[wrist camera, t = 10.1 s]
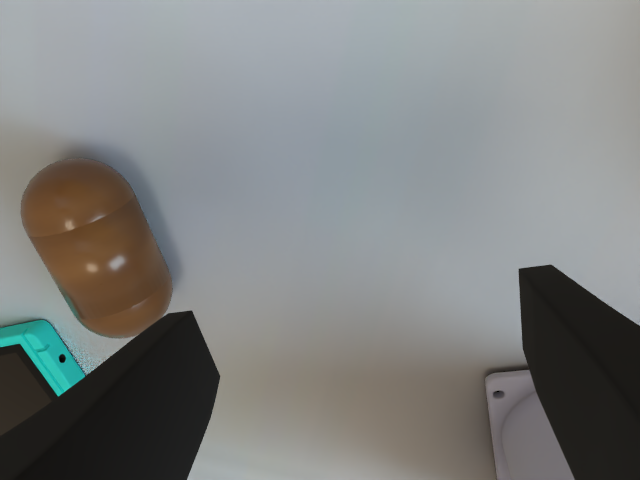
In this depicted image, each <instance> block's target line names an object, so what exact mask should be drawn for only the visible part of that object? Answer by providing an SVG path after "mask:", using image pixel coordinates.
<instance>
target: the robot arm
mask: <svg viewBox="0 0 640 480" xmlns="http://www.w3.org/2000/svg"><path fill="white" fill-rule="evenodd" d="M519 286H520V305H521V323H522V342H523V350H524V354H525V357H526V360H527V364H528V367H529V370H521V371H510V372H500V373H493V374H490V375H488V376H487V377H486V379H485V387H486V395H487V403H488V411H489V419H490V427H491V435H492V443H493V451H494V459H495V467H496V475H497V480H640V326H639V325H637V324H636V323H634V322H633V321H631V320H630V319H628V318H627V317H625V316H624V315H622V314H621V313H619V312H618V311H616V310H615V309H613V308H612V307H610V306H609V305H607V304H606V303H604V302H603V301H601V300H600V299H598V298H597V297H596V296H594V295H593V294H591V293H590V292H589V291H587V290H586V289H584V288H583V287H582V286H580V285H579V284H577V283H576V282H575V281H573V280H572V279H571V278H569V277H568V276H566V275H565V274H564V273H562V272H561V271H559V270H558V269H557V268H555V267H554V266H552V265H545V266H537V267H529V268H521V269H519ZM219 380H220V375H219V372H218V370H217V368H216V366H215V363H214V361H213V359H212V356H211V354H210V352H209V349H208V347H207V345H206V342H205V340H204V338H203V335H202V333H201V331H200V328H199V326H198V324H197V321H196V319H195V317H194V314H193V312H192V311H184V312H177V313H169V314H167V315H165V316H164V317H162V318H161V319H159V320H158V321H156V322H155V323H154V324H152V325H151V326H149V327H148V328H147V329H145V330H144V331H143V332H141V333H140V334H139V335H138V336H136V337H135V338H134V339H132V340H131V341H130V342H129V343H127V344H126V345H125V346H124V347H122V348H121V349H120V350H119V351H117V352H116V353H115V354H113V355H112V356H111V357H110V358H108V359H107V360H106V361H105V362H103V363H102V364H101V365H100V366H98V367H97V368H96V369H94V370H93V371H92V372H91V373H89V374H88V375H87V376H85V377H84V378H83V379H81V380H80V381H79V382H77V383H76V384H75V385H73V386H72V387H70V388H69V389H68V390H66V391H65V392H64V393H62V394H61V395H60V396H58V397H57V398H56V399H54V400H53V401H52V402H50V403H49V404H48V405H46V406H45V407H43V408H42V409H41V410H39V411H38V412H36V413H35V414H33V415H32V416H30V417H29V418H27V419H26V420H24V421H23V422H21V423H20V424H18V425H17V426H15V427H14V428H12V429H11V430H9V431H8V432H6V433H4V434H3V435H1V436H0V480H187V478H188V475H189V473H190V470H191V468H192V465H193V462H194V460H195V457H196V455H197V452H198V450H199V447H200V444H201V442H202V439H203V437H204V434H205V431H206V429H207V426H208V423H209V420H210V418H211V414H212V410H213V406H214V402H215V398H216V394H217V389H218V384H219ZM498 390H499V391H501V392H495V391H498Z"/></svg>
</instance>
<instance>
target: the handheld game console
mask: <svg viewBox="0 0 640 480" xmlns="http://www.w3.org/2000/svg"><path fill="white" fill-rule="evenodd" d="M84 377H85V375H84V373H83V372H82V370H81V369H80V367H79V366H78V364H77V363H76V361H75V360H74V358H73V357H72V355H71V354H70V352H69V351H68V349H67V348H66V346H65V345H64V343H63V342H62V340H61V339H60V338H59V336H58V335H57V333H56V332H55V330H54V329H53V327H52V326H51V325H50V323H48V322H47V321H44V320H37V321H32V322H27V323H22V324H18V325H13V326H8V327H3V328H0V436H1V435H3V434H4V433H6V432H8V431H9V430H11V429H12V428H14V427H15V426H17V425H18V424H20V423H21V422H23V421H24V420H26V419H27V418H29V417H30V416H32V415H33V414H35V413H36V412H38V411H39V410H41V409H42V408H43V407H45V406H46V405H48V404H49V403H50V402H52V401H53V400H54V399H56V398H57V397H58V396H60V395H61V394H62V393H64V392H65V391H66V390H68V389H69V388H70V387H72V386H73V385H75V384H76V383H77V382H79V381H80V380H81V379H83V378H84Z"/></svg>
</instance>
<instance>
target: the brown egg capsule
mask: <svg viewBox="0 0 640 480" xmlns="http://www.w3.org/2000/svg"><path fill="white" fill-rule="evenodd" d="M21 217H22V223H23V226H24V228H25V231H26V233H27V235H28V237H29V238H30V240H31V242H32V244H33V245H34V247H35V249H36V250H37V252H38V254H39V256H40V257H41V259H42V261H43V262H44V264H45V266H46V268H47V269H48V271H49V273H50V275H51V276H52V278H53V280H54V281H55V283H56V285H57V287H58V288H59V290H60V292H61V294H62V295H63V297H64V299H65V300H66V302H67V304H68V306H69V307H70V309H71V311H72V312H73V314H74V316H75V317H76V318H77V320H78V321H79V322H80V323H81V324H82V325H83V326H84V327H86V328H87V329H88V330H90V331H92V332H94V333H96V334H98V335H100V336H104V337H108V338H128V337H133V336H136V335H138V334H140V333H141V332H143V331H144V330H145V329H147V328H148V327H149V326H151V325H152V324H154V323H155V322H156V321H158V320H159V319H161V318H162V317H163V315H164V314H165V312H166V311H167V309H168V306H169V304H170V301H171V297H172V290H173V288H172V279H171V275H170V272H169V269H168V267H167V265H166V263H165V260H164V258H163V256H162V254H161V251H160V249H159V247H158V245H157V243H156V240H155V238H154V236H153V234H152V231H151V229H150V227H149V225H148V223H147V220H146V218H145V216H144V214H143V211H142V209H141V207H140V205H139V203H138V200H137V198H136V196H135V194H134V192H133V190H132V188H131V186H130V185H129V183H128V182H127V181H126V180H125V179H124V177H123V176H122V175H120V174H119V173H118V172H117V171H115V170H114V169H113V168H111V167H109V166H107V165H105V164H103V163H101V162H97V161H94V160H90V159H81V158H76V159H65V160H61V161H58V162H55V163H53V164H50V165H48V166H47V167H45V168H44V169H42V170H41V171H39V172H38V173H37V174H36V175H35V176H34V177H33V178H32V179H31V181H30V182H29V184H28V185H27V187H26V189H25V191H24V194H23V197H22V200H21Z"/></svg>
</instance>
